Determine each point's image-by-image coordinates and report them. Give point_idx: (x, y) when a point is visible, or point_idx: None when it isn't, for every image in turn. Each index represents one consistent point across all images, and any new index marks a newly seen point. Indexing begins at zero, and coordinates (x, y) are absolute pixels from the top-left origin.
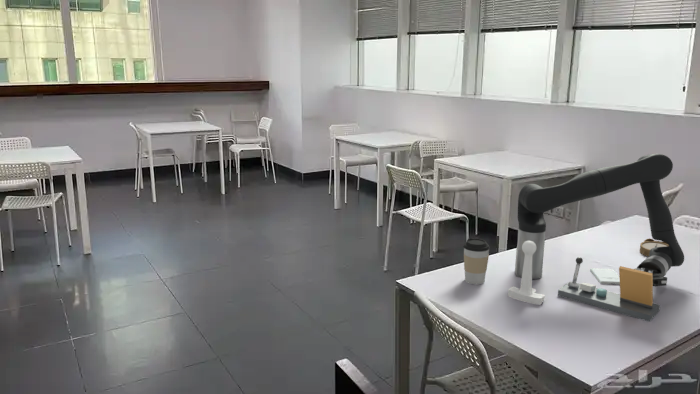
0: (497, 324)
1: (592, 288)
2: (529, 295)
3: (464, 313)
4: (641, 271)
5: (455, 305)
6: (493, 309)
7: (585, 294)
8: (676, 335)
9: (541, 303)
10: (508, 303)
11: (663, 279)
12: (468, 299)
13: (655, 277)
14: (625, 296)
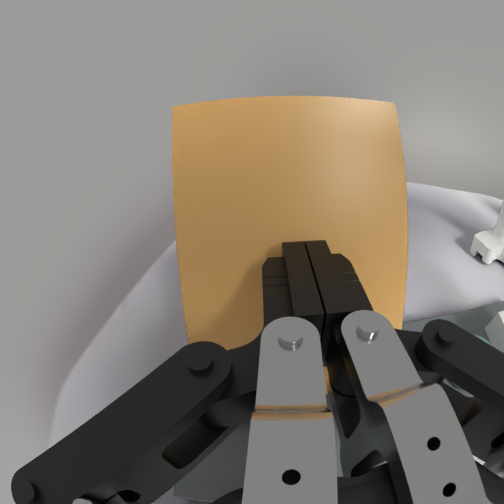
0: (413, 189)
1: (500, 336)
2: (489, 232)
3: (454, 191)
4: (247, 99)
5: (479, 198)
6: (461, 208)
7: (485, 330)
8: (122, 313)
9: (472, 253)
10: (481, 228)
11: (57, 456)
12: (497, 212)
13: (147, 443)
14: None
